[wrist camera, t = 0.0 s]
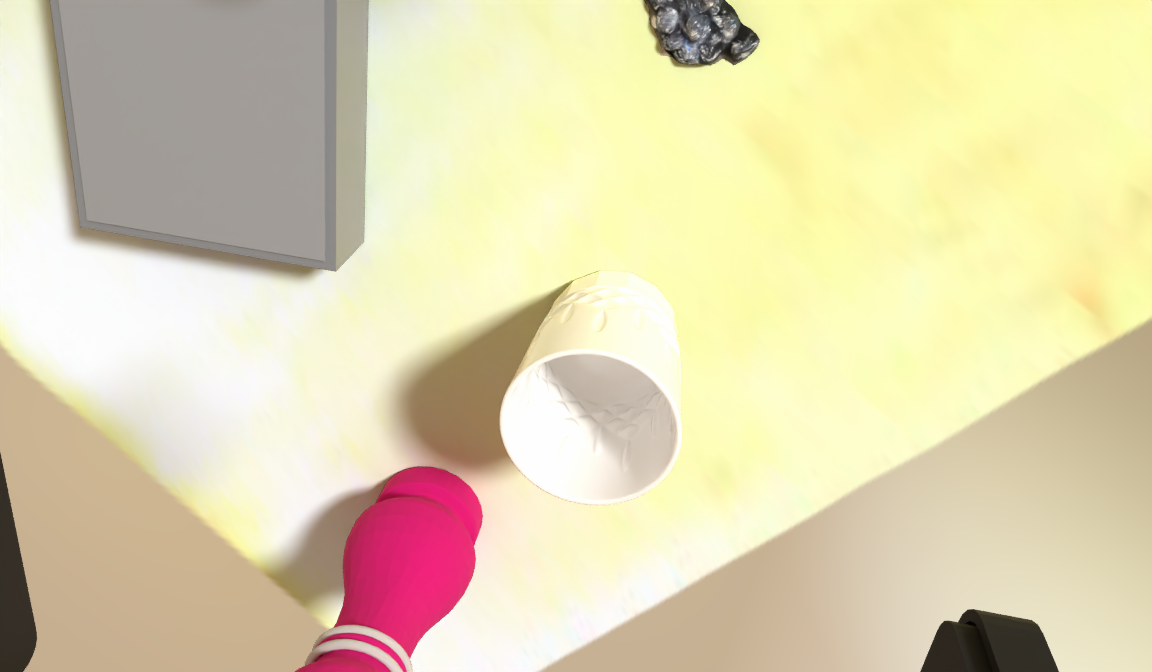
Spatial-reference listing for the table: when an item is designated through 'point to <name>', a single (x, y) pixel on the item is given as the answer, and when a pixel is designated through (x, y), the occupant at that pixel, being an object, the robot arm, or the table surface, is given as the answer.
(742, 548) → the table surface
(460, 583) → the pepper mill
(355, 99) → the slate riser
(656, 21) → the blueberries
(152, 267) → the table surface
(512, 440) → the white cup
